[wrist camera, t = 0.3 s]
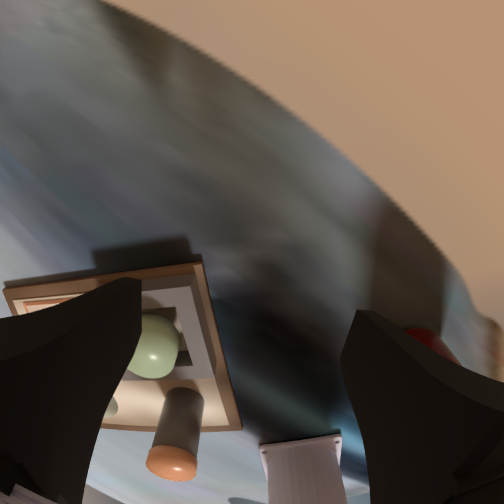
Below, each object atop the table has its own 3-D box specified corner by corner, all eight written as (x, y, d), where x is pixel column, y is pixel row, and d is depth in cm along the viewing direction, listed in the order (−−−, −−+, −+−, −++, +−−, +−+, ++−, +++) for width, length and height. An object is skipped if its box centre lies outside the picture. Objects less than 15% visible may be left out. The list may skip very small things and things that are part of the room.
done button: (186, 357, 20) (181, 377, 18) (135, 360, 20) (127, 378, 18) (172, 309, 19) (164, 327, 17) (117, 314, 19) (106, 331, 17)
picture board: (242, 426, 25) (242, 431, 25) (75, 421, 26) (73, 425, 26) (202, 261, 20) (201, 265, 19) (5, 287, 21) (0, 290, 20)
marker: (210, 413, 24) (201, 482, 17) (171, 414, 24) (156, 479, 18) (200, 385, 23) (187, 457, 16) (159, 386, 23) (138, 455, 16)
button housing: (216, 361, 22) (214, 377, 20) (129, 365, 22) (122, 380, 21) (195, 273, 20) (190, 286, 18) (98, 285, 20) (87, 297, 18)
